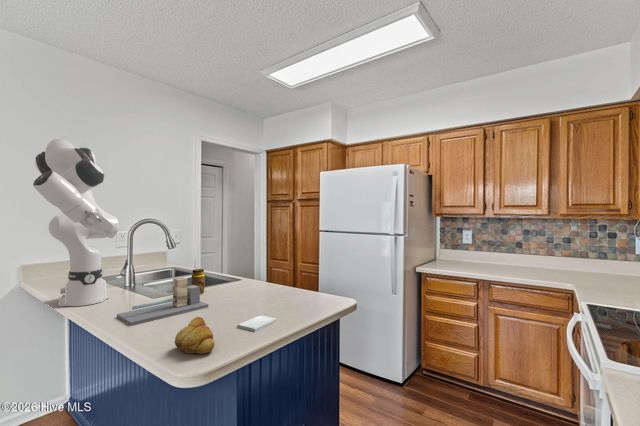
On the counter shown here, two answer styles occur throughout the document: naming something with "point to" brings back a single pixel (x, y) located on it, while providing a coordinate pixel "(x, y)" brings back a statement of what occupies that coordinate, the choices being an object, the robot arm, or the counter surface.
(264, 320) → the hard drive
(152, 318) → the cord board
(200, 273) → the condiment
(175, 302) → the notched wooden block
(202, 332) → the bread roll
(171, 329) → the counter surface
